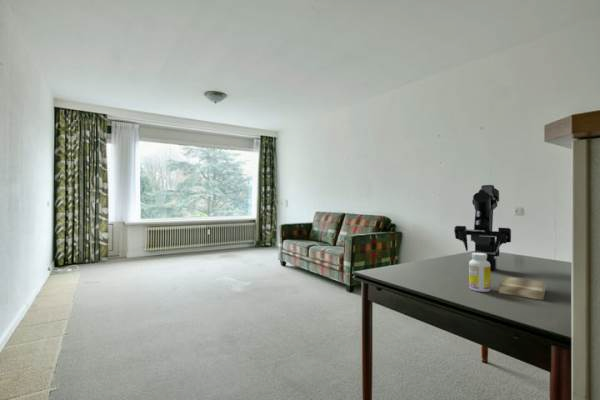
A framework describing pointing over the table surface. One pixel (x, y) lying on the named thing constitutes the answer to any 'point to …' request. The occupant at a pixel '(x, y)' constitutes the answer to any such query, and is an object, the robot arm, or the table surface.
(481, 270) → the supplement bottle
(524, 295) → the oak board
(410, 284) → the table surface
